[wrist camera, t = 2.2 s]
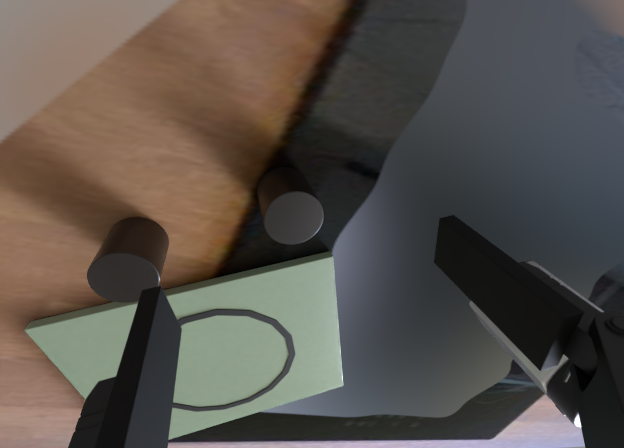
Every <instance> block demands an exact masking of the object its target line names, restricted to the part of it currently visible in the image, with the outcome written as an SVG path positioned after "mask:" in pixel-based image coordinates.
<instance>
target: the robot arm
mask: <svg viewBox="0 0 624 448" xmlns="http://www.w3.org/2000/svg"><path fill="white" fill-rule="evenodd" d="M434 263H435V264H436V265H437V266H438V267H439V268H440V269H441V270H442V271H443V272H444V273H445V274H446V275H447V276H448V277H449V278H450V279H451V280H452V281H453V282H454V283H455V284H456V285H457V286H458V287H459V288H460V290H462V292H463V293H465V295H466V296H467V297H468V298H469V299H470V300H471V301H472V302H473V303H474V304H475V305H476V306H477V307H478V308H479V309H480V310H481V311H482V312H483V313H484V314H485V315H486V316H487V317H488V318H489V319H490V320H491V321H492V322H493V323H494V324H495V325H496V326H497V327H498V329H499V330H500V331H501V332H502V333H503V334H504V335H505V336H506V337H507V338H508V339H509V340H510V341H511V342H512V343H513V344H514V345H515V346H516V347H517V348H518V349H519V350H520V351H521V352H522V353H523V354H524V355H525V356H526V357H527V358H528V359H529V360H530V361H531V362H532V363H533V364H534V365H535V366H536V368H537V369H538V370H539V371H543V370H546V369H548V368H551V367H554V366H557V365H558V364H559V362H560V360H561V358H562V356H563V354H564V355H565V356H566V357H567V358H568V359H569V360H571V362H570V364H569V366H568V368H567V370H566V372H565V373H564V375H563V382H567V380H568V378H569V377H570V375H571V379H572V384H573V389H574V394H575V399H576V404H577V409H578V413H579V418H580V423H581V428H582V433H583V438H584V443H585V447H586V448H624V315H621V314H618V313H615V312H601V311H599V310H597V309H596V308H595V307H593V306H592V305H590V304H589V303H587V302H586V301H585V300H583V299H582V298H580V297H579V296H578V295H576V294H575V293H573V292H572V291H571V290H569V289H568V288H566V287H565V286H564V285H560V283H559V282H558V281H556V280H555V279H554V278H551V277H550V276H549V275H548V274H547V273H545V272H544V271H542V270H541V269H540V268H538V267H536V266H533V265H531V264H528V263H526V262H521V263H517V262H516V261H515V260H514V259H512V258H511V257H509V256H508V255H507V254H505V253H504V252H503V251H501V250H500V249H499V248H497V247H496V246H495V245H493V244H492V243H491V242H489V241H488V240H487V239H485V238H484V237H482V236H481V235H480V234H478V233H477V232H476V231H474V230H473V229H472V228H470V227H469V226H467V225H466V224H465V223H464V222H462V221H461V220H460V219H458V218H457V217H455V216H454V215H452V216H448V217H444V218H440V220H439V227H438V236H437V244H436V251H435V260H434ZM181 333H182V328H181V326H180V324H179V322H178V320H177V318H176V316H175V314H174V312H173V310H172V308H171V305H170V303H169V301H168V299H167V297H166V295H165V293H164V291H163V289H162V287H161V286H157V287H153V288H149V289H145V290H142V292H141V295H140V298H139V302H138V305H137V308H136V312H135V315H134V318H133V321H132V325H131V328H130V331H129V335H128V338H127V341H126V345H125V348H124V351H123V355H122V358H121V361H120V365H119V368H118V371H117V375H116V376H115V377H112V378H108V379H105V380H101V381H98V383H97V384H96V385H95V387H94V388H93V389H92V391H91V392H90V394H89V395H88V396H87V398H86V401H85V403H84V406H83V409H82V411H81V414H80V415H81V417H80V418H79V420H78V422H77V425H76V428H75V429H76V431H75V432H74V433H73V436H72V439H71V442H70V444H69V447H68V448H167V447H168V439H169V431H170V423H171V414H172V406H173V398H174V390H175V382H176V373H177V365H178V357H179V349H180V341H181Z"/></svg>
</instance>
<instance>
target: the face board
mask: <svg viewBox="0 0 624 448" xmlns="http://www.w3.org/2000/svg"><path fill="white" fill-rule="evenodd" d="M333 262H334V261H333V255H332V253H331V252H330V251H328V252H324V253H320V254H315V255H311V256H307V257H303V258H298V259H294V260H290V261H286V262H281V263H277V264H273V265H269V266H264V267H260V268H256V269H252V270H247V271H243V272H239V273H235V274H230V275H226V276H222V277H218V278H213V279H209V280H205V281H201V282H196V283H192V284H188V285H184V286H179V287H175V288H171V289H167V290H163V291H164V293H165V295H166V297H167V299H168V301H169V303H170V305H171V308H172V310H173V312H174V314H175V316H176V318H177V320H178V322H179V324H180V326H181V328H182V333H181V341H180V349H179V357H178V365H177V373H176V382H175V390H174V398H173V406H172V414H171V423H170V431H169V439H172V438H175V437H179V436H182V435H185V434H188V433H192V432H195V431H198V430H201V429H205V428H208V427H211V426H214V425H218V424H221V423H224V422H228V421H231V420H234V419H237V418H241V417H244V416H247V415H250V414H254V413H257V412H260V411H263V410H267V409H270V408H273V407H276V406H280V405H283V404H286V403H289V402H293V401H296V400H299V399H302V398H306V397H309V396H312V395H315V394H319V393H322V392H325V391H328V390H332V389H335V388H338V387H341V386H343V375H342V363H341V350H340V337H339V325H338V312H337V299H336V288H335V274H334V263H333ZM138 302H139V301H137V302H131V303H121V302H111V303H107V304H103V305H98V306H94V307H90V308H86V309H81V310H77V311H73V312H69V313H64V314H60V315H56V316H52V317H47V318H43V319H39V320H35V321H30V322H29V323H28V325H27V326H26V328H25V329H24V331H25V332H26V333H27V334H28V335H29V336H30V338H31V339H32V340H33V341H34V342H35V343H36V344H37V345H38V347H39V348H40V349H41V350H42V351H43V352H44V353H45V354H46V356H47V357H48V358H49V359H50V360H51V361H52V362H53V364H54V365H55V366H56V367H57V368H58V369H59V370H60V371H61V373H62V374H63V375H64V376H65V377H66V378H67V379H68V380H69V382H70V383H71V384H72V385H73V386H74V387H75V388H76V390H77V391H78V392H79V393H80V394H81V395H82V396H83V397H84V399H85V400H86V398H87V396H88V395H89V394H90V392H91V391H92V389H93V388H94V387H95V385H96V384H97V383H98V381H101V380H105V379H108V378H112V377H115V376H116V375H117V371H118V368H119V365H120V361H121V358H122V355H123V351H124V348H125V345H126V341H127V338H128V335H129V331H130V328H131V325H132V321H133V318H134V315H135V312H136V308H137V305H138ZM169 439H168V440H169Z"/></svg>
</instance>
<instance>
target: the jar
mask: <svg viewBox="0 0 624 448" xmlns="http://www.w3.org/2000/svg"><path fill="white" fill-rule="evenodd" d="M526 263H528V264H531V265H533V266H536V267H538V268H540V269H541V270H542V271H544V272H545V273H547V274H548V275H549V276H550V277H551V278H554V279H555V280H556V281H558V282H559V283H560V285H564V286H565V287H566V288H568V289H569V290H571V291H572V292H573V293H575V294H576V295H578V296H579V297H580V298H582V299H583V300H585V301H586V302H587V303H589V304H590V305H592V306H593V307H595V308H596V309H597V310H599V311H601V312H604V311H603V310H601V309H600V308H598V307H597V306H596V305H594V304H593V303H592V302H590V301H589V300H587V299H586V298H585V297H583V296H582V295H580V294H579V293H577V292H576V291H575V290H573V289H572V288H571V287H569V286H568V285H566V284H565V283H564V282H562V281H561V280H560V279H558V278H557V277H555V276H554V275H553V274H551V273H550V272H548V271H547V270H546V269H544V268H543V267H541V266H540V265H539V264H537V263H536V262H535V261H527V262H526ZM469 305H470V307H471V309H472V310H473V312H474V313H475V315H476V316H477V318H478V319H479V321H480V322H481V324H482V325H483V326H484V327H485V328H486V329H487V330H488V331H489V333H490V334H491V335H492V336H493V337H494V338H495V339H496V340H497V341H498V343H499V344H500V345H501V346H502V347H503V348H504V349H505V350H506V351H507V352H508V354H509V355H510V356H511V357H512V358H513V359H514V360H515V361H516V362H517V363H518V365H519V366H520V367H521V368H522V369H523V370H524V371H525V372H526V373H527V374H528V376H529V377H530V378H531V379H532V380H533V381H534V382H535V383H536V384H537V385H538V387H539V388H540V389H541V390H542V391H543V392H544V393H545V394H546V395H547V397H548V398H549V399H551V400H552V401H553V402H554V403H555V405H556V407H557V408H558V409H559V410H560V411H561V412H562V414H563V415H565V416H566V417H567V418H568V419H569V420H570V421H571V422H572V423H573V424H574V425H576V426H578V427H581V423H580V418H579V413H578V409H577V404H576V399H575V394H574V389H573V384H572V379H571V375H570V377H569V378H568V380H567V382H563V375H564V373H565V372H566V370H567V368H568V366H569V364H570V362H571V360H569V359H568V358H567V357H566V356H565V355H564V354H563V356H562V358H561V360H560V362H559V364H558V365H557V366H554V367H551V368H548V369H546V370H543V371H539V370H538V369H537V368H536V366H535V365H534V364H533V363H532V362H531V361H530V360H529V359H528V358H527V357H526V356H525V355H524V354H523V353H522V352H521V351H520V350H519V349H518V348H517V347H516V346H515V345H514V344H513V343H512V342H511V341H510V340H509V339H508V338H507V337H506V336H505V335H504V334H503V333H502V332H501V331H500V330H499V329H498V327H497V326H496V325H495V324H494V323H493V322H492V321H491V320H490V319H489V318H488V317H487V316H486V315H485V314H484V313H483V312H482V311H481V310H480V309H479V308H478V307H477V306H476V305H475V304H474V303H473V302H472V301H470V302H469Z"/></svg>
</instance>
